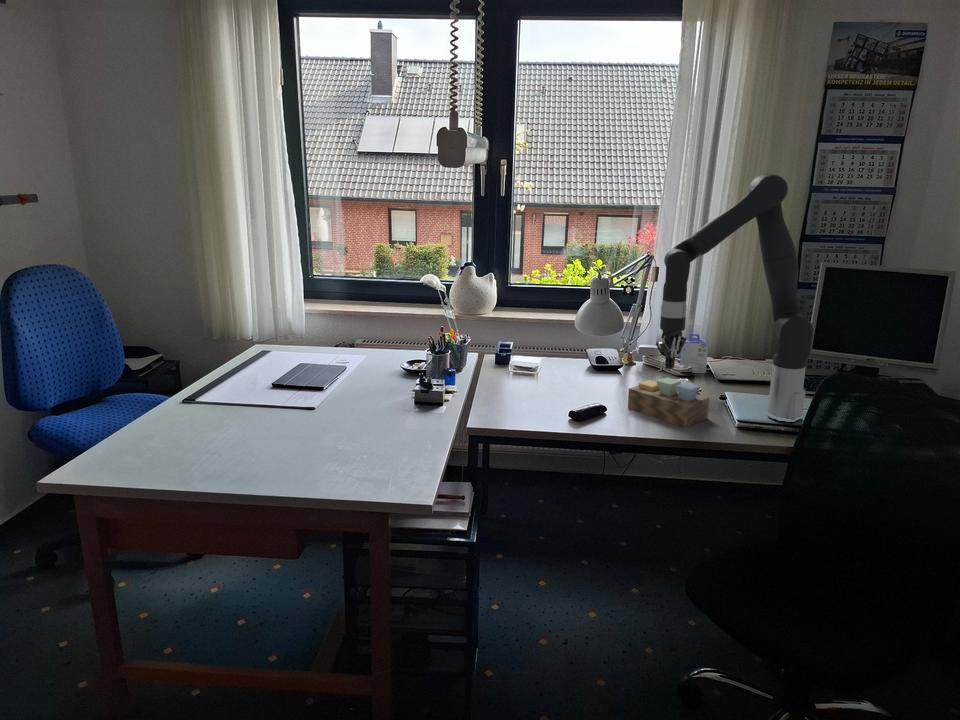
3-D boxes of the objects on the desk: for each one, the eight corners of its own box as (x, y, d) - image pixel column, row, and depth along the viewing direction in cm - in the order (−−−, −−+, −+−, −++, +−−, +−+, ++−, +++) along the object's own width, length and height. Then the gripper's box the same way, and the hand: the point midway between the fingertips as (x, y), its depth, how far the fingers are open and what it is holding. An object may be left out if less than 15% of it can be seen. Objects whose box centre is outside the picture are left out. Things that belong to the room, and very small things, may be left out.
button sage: (679, 402, 212) (680, 381, 210) (669, 405, 208) (670, 384, 207) (665, 398, 215) (667, 377, 214) (655, 401, 212) (657, 380, 210)
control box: (707, 418, 208) (709, 397, 206) (684, 427, 201) (686, 405, 199) (650, 400, 225) (651, 381, 223) (627, 408, 218) (628, 388, 216)
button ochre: (660, 403, 218) (662, 383, 216) (650, 407, 214) (652, 386, 213) (648, 399, 221) (649, 379, 220) (638, 403, 218) (639, 383, 216)
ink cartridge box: (704, 369, 259) (707, 333, 255) (706, 373, 253) (709, 337, 250) (678, 368, 261) (681, 333, 257) (679, 372, 255) (682, 336, 251)
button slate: (698, 407, 206) (700, 386, 204) (688, 411, 203) (690, 389, 201) (684, 403, 210) (685, 382, 208) (674, 407, 207) (675, 385, 205)
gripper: (670, 319, 197) (666, 375, 202) (696, 313, 205) (692, 367, 210) (649, 315, 203) (646, 369, 208) (676, 309, 211) (672, 362, 216)
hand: (669, 368), depth 209 cm, fingers closed
